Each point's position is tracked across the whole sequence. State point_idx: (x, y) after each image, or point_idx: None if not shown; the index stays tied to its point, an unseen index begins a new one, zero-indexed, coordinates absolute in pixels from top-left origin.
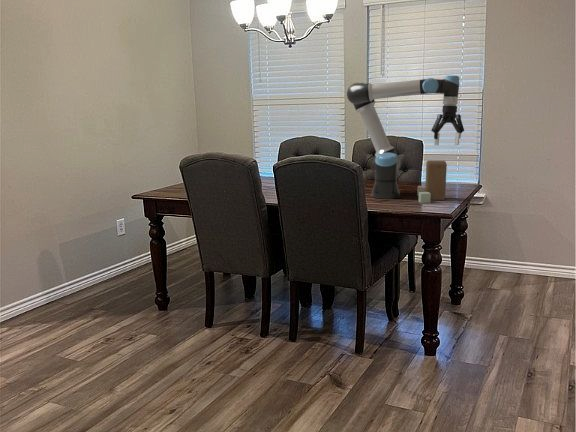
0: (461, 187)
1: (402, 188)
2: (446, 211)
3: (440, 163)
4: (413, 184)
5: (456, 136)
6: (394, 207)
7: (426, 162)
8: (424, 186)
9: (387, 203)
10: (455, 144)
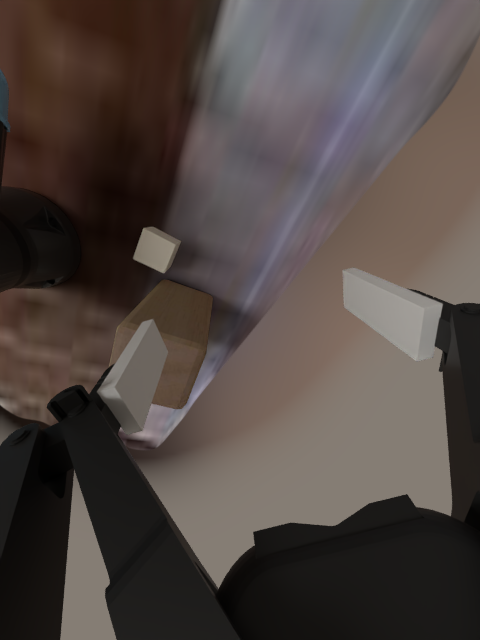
0: (377, 98)
1: (120, 36)
2: (160, 430)
3: (159, 404)
4: None
5: (388, 311)
6: (55, 385)
7: (115, 337)
8: (162, 247)
9: (38, 342)
10: (343, 282)
